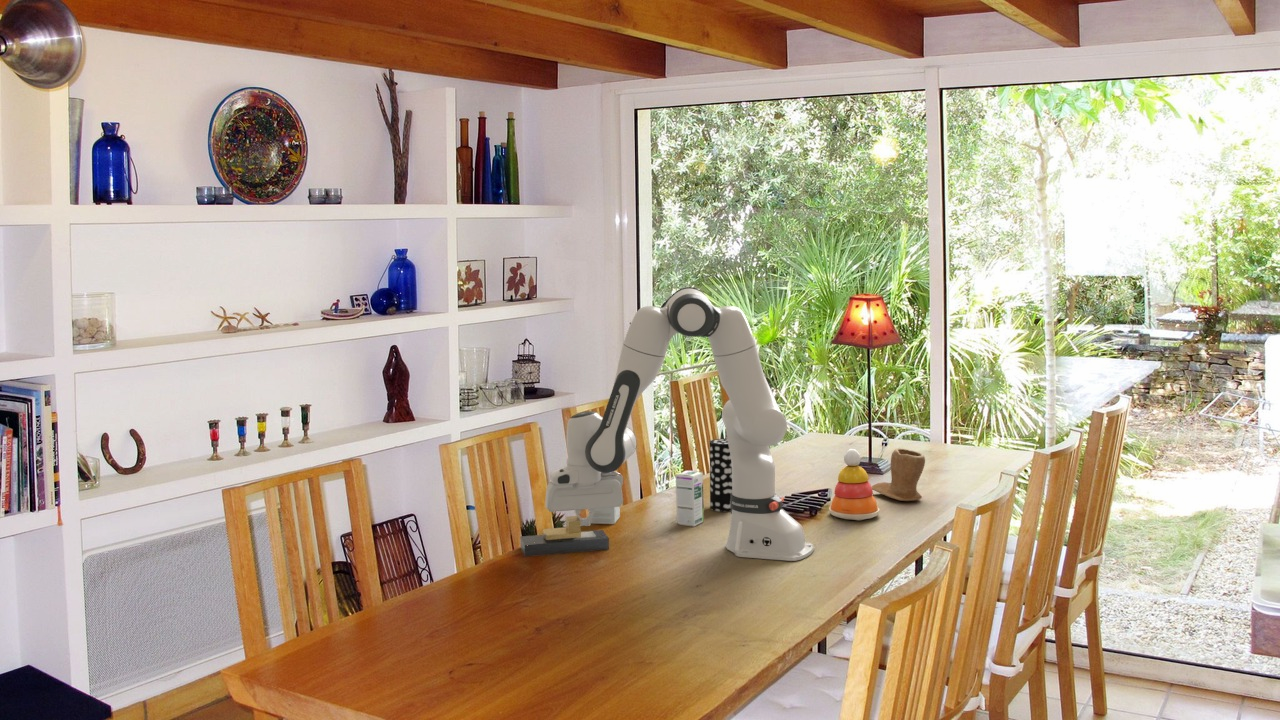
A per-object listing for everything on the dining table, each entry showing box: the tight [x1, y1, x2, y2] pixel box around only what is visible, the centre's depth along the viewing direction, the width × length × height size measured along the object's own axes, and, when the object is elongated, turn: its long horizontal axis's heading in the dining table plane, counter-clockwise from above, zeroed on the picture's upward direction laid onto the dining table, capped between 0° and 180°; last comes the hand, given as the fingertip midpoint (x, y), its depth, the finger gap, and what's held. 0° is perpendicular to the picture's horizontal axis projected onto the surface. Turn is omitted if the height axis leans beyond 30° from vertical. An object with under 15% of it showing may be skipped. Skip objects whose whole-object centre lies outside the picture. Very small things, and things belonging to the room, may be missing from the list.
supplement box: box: [591, 506, 621, 525], centre depth 314 cm, size 7×7×13 cm
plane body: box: [520, 529, 610, 557], centre depth 288 cm, size 22×8×3 cm, turn 104°
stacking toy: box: [828, 448, 880, 521], centre depth 314 cm, size 14×14×20 cm
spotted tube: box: [709, 438, 732, 513], centre depth 325 cm, size 8×8×20 cm
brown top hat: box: [871, 447, 926, 502], centre depth 334 cm, size 15×12×15 cm
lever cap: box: [542, 515, 582, 540], centre depth 287 cm, size 9×6×4 cm, turn 104°
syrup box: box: [675, 470, 705, 527], centre depth 310 cm, size 6×6×14 cm
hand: (584, 525), depth 289 cm, fingers closed
